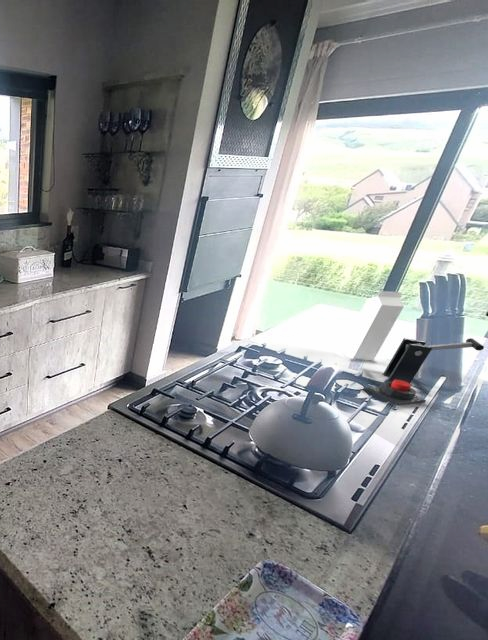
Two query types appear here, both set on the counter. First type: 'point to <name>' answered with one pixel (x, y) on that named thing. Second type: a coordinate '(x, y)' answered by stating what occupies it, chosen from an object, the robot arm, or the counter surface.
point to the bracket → (407, 360)
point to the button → (401, 385)
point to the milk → (373, 325)
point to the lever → (456, 345)
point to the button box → (396, 394)
